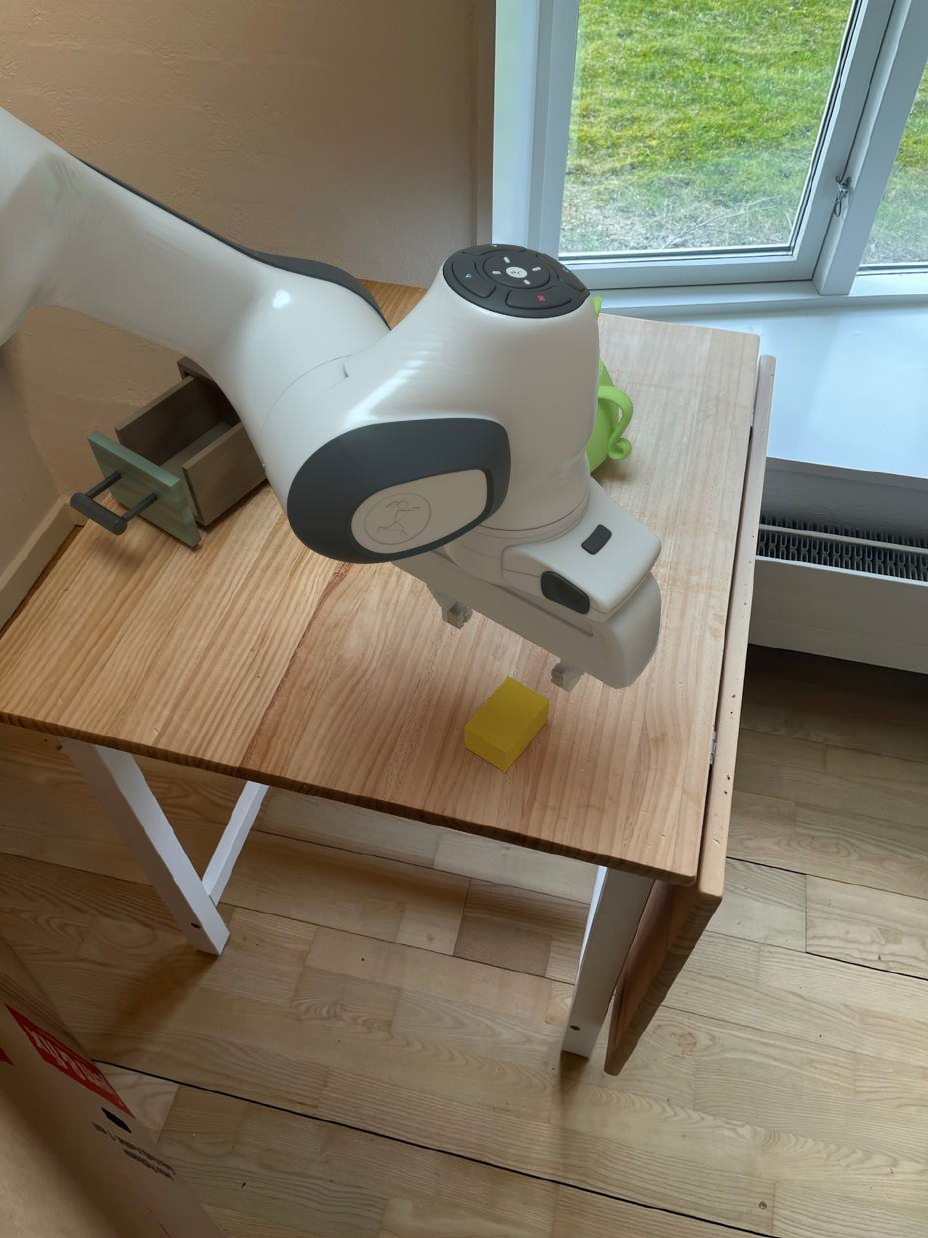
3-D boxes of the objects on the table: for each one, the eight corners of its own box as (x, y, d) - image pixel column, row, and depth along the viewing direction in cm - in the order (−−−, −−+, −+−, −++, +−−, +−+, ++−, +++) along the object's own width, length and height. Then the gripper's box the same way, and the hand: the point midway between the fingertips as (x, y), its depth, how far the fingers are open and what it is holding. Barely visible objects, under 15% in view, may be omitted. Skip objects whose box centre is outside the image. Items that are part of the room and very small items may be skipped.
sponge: (505, 772, 74) (505, 753, 72) (464, 747, 76) (463, 726, 73) (547, 720, 77) (549, 699, 75) (507, 696, 79) (508, 675, 76)
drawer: (149, 582, 86) (123, 521, 80) (69, 529, 91) (39, 468, 85) (298, 462, 96) (284, 400, 90) (219, 420, 101) (201, 358, 94)
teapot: (462, 413, 102) (458, 309, 92) (590, 394, 103) (600, 290, 93) (493, 517, 92) (492, 413, 82) (634, 495, 93) (650, 390, 83)
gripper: (347, 472, 59) (370, 611, 70) (631, 621, 51) (608, 752, 62) (410, 419, 62) (423, 560, 73) (687, 551, 54) (656, 687, 65)
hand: (510, 649), depth 68 cm, fingers open, 8 cm apart
